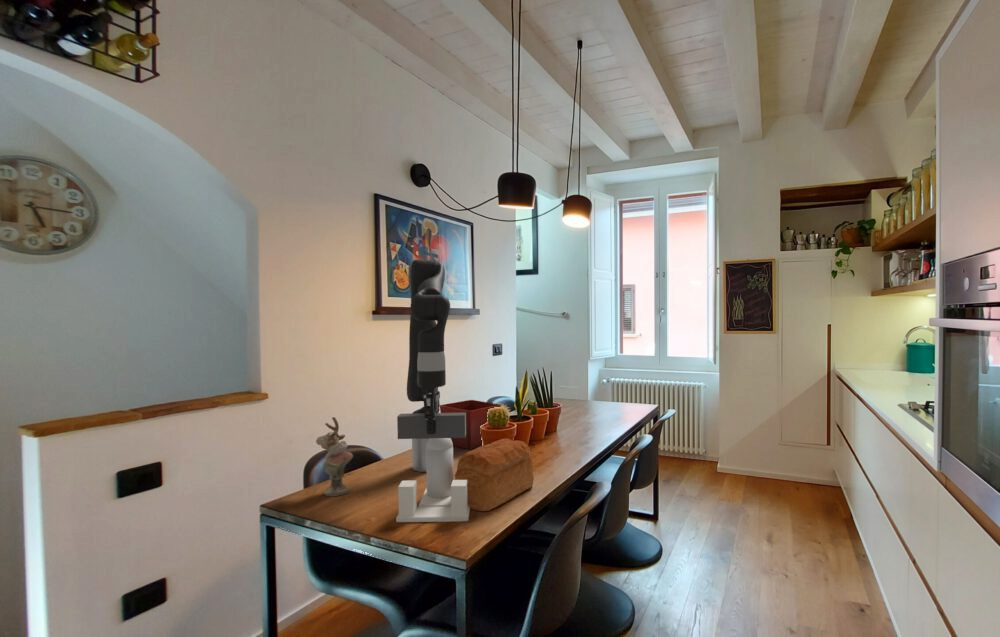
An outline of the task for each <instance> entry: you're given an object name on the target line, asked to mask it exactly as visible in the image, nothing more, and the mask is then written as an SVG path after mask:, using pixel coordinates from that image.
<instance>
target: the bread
mask: <svg viewBox="0 0 1000 637" xmlns="http://www.w3.org/2000/svg"><path fill="white" fill-rule="evenodd" d="M533 465H534V463H533V460H532V456H531V451H530V447H529V445H528V444H526V442H525V441H522V440H512V439H510V438H502V439H501V438H500V439H499V440H495V441H492V442H491V444H487V445H483V446H481V447H477V448H474V449H471V450H469V451H467V452H466V453H464V454H463V455H462V456H460V457H459V459H458V460H457V467H456V468H457V469H456V471H455V473H454V477H455V478H454V480H467V491H468V507H470V510H474V511H478V512H490V511H491V510H493V509H495V508H497V507H499V506H501V505H503V504H504V503H506V502H508V501H511V499H513V498H515V497H516V496H517V495H520V494H522V493H523V492H525V491H527V490H529V489H530V488H532V486H533V485H534V479H535V477H534V473H533V472H534V468H533V467H534V466H533Z"/></svg>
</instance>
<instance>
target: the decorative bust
mask: <svg viewBox="0 0 1000 637" xmlns="http://www.w3.org/2000/svg"><path fill="white" fill-rule="evenodd" d="M331 419H332V421H333V423H334V425H335V426H333V425H331V424H329V423H328V422H325V424H324V425H325V426H326V427H327V428H329V429H330V430H332V431H330V432H329V431H328V432H327V433H326V434H325V435H321V436H318V437H316V440H315V443H316V444H317V445H318V446H320V447H321V448H322V449H323V450H326V451H327V453H326V455H325V457H324V459H325V461H324V462H323V472H324V473H325V474H327V475H328V476H329V477H328V479H330V485H329V487H327V488H325V490H324V492H323V495H325V496H326V497H338V496H339V495H340V496H343V495H346V494H348V493H349V492H350V487H348V486H347V485H344V483H343V481H342V480H343V478H344V477H345V468H346V465H347V464H348V463H350V462H351V460H352V459H353V457H354V455H353V453H352V452H350V451H347V449H348V444H347V441H346V440H343V439H344V438H345V437H346V435H345V434H340V435H339V433H338V432H339V430H340V428H339V427H340V426H339V421H338V420H337V419H336V417H333V416H332V417H331Z"/></svg>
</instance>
